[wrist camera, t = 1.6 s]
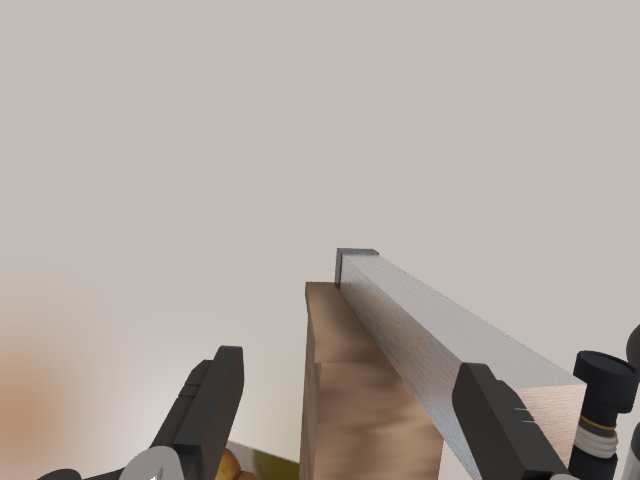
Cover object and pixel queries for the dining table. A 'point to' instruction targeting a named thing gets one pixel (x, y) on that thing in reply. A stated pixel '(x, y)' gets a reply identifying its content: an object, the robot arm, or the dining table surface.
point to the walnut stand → (358, 403)
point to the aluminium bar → (453, 351)
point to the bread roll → (232, 469)
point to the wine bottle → (601, 413)
